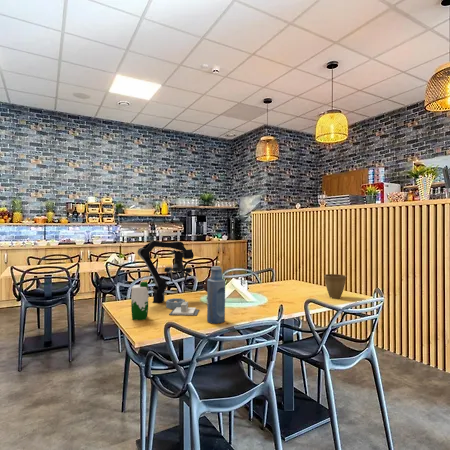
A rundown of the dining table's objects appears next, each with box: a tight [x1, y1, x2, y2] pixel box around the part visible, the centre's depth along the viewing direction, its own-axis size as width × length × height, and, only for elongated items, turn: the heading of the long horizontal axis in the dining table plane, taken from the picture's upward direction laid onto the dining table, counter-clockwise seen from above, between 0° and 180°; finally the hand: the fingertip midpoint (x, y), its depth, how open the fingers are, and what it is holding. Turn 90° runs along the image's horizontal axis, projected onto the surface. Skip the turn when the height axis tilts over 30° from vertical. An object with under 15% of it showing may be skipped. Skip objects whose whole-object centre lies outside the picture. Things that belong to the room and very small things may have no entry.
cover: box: [172, 301, 197, 316], centre depth 199 cm, size 12×12×5 cm
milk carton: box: [130, 281, 149, 321], centre depth 187 cm, size 9×9×20 cm
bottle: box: [206, 265, 226, 325], centre depth 182 cm, size 10×10×30 cm
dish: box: [165, 297, 186, 310], centre depth 212 cm, size 11×11×4 cm
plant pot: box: [324, 273, 347, 299], centre depth 241 cm, size 15×15×16 cm
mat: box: [169, 308, 200, 317], centre depth 199 cm, size 16×12×1 cm
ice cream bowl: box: [202, 276, 211, 293], centre depth 235 cm, size 11×11×15 cm
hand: (178, 282), depth 232 cm, fingers open, 9 cm apart
